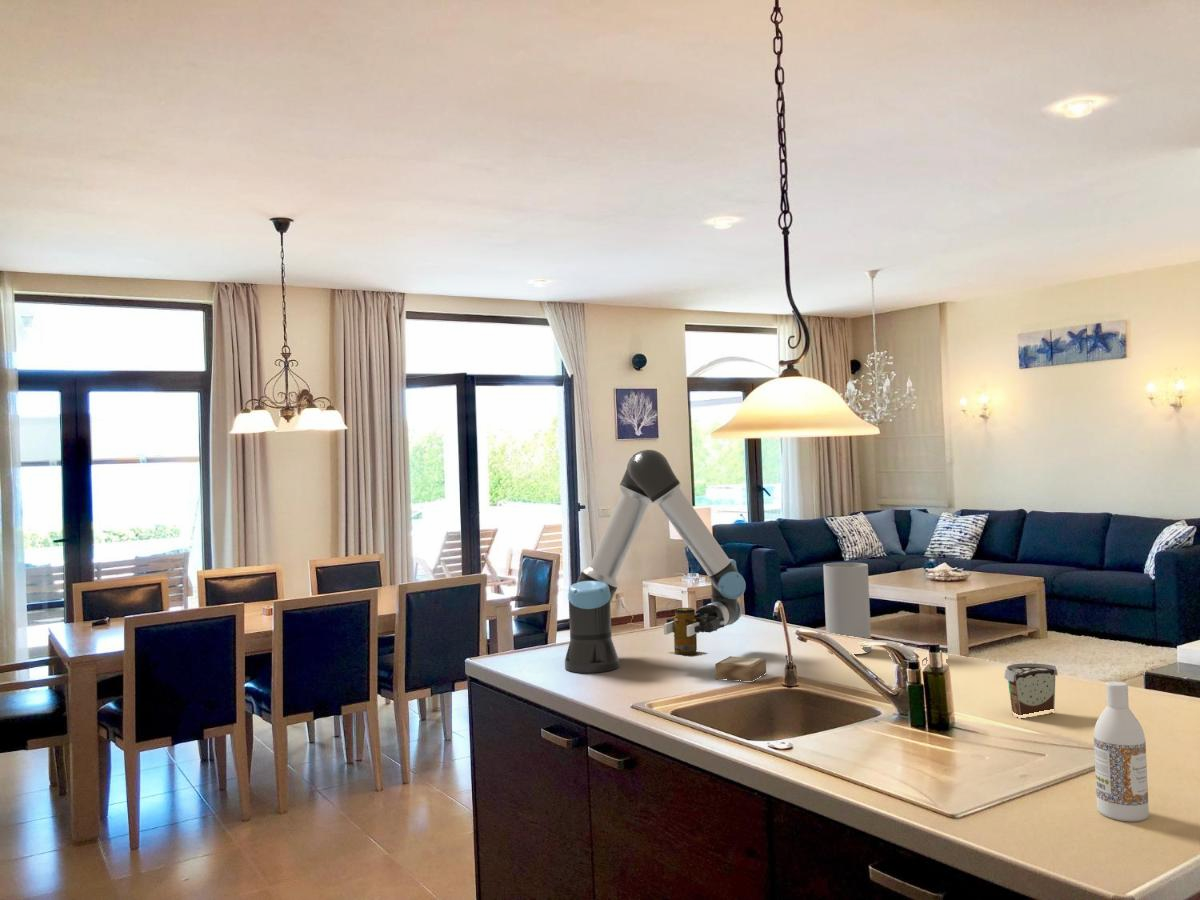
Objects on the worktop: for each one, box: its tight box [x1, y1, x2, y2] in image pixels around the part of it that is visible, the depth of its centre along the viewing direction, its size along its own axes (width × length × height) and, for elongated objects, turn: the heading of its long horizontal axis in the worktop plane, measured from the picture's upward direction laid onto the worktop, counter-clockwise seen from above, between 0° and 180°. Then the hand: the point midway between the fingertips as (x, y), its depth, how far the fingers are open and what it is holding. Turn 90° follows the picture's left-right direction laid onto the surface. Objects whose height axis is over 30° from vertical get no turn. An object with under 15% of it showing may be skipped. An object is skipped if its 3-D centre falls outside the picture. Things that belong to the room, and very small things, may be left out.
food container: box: [1003, 662, 1059, 715], centre depth 200 cm, size 12×6×10 cm, turn 111°
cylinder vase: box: [822, 562, 872, 654], centre depth 271 cm, size 12×12×25 cm
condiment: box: [667, 607, 709, 658], centre depth 251 cm, size 7×8×12 cm
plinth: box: [714, 656, 767, 682], centre depth 244 cm, size 10×10×4 cm
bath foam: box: [1093, 680, 1150, 822], centre depth 143 cm, size 7×7×20 cm
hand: (676, 630), depth 247 cm, fingers closed on condiment, 6 cm apart
